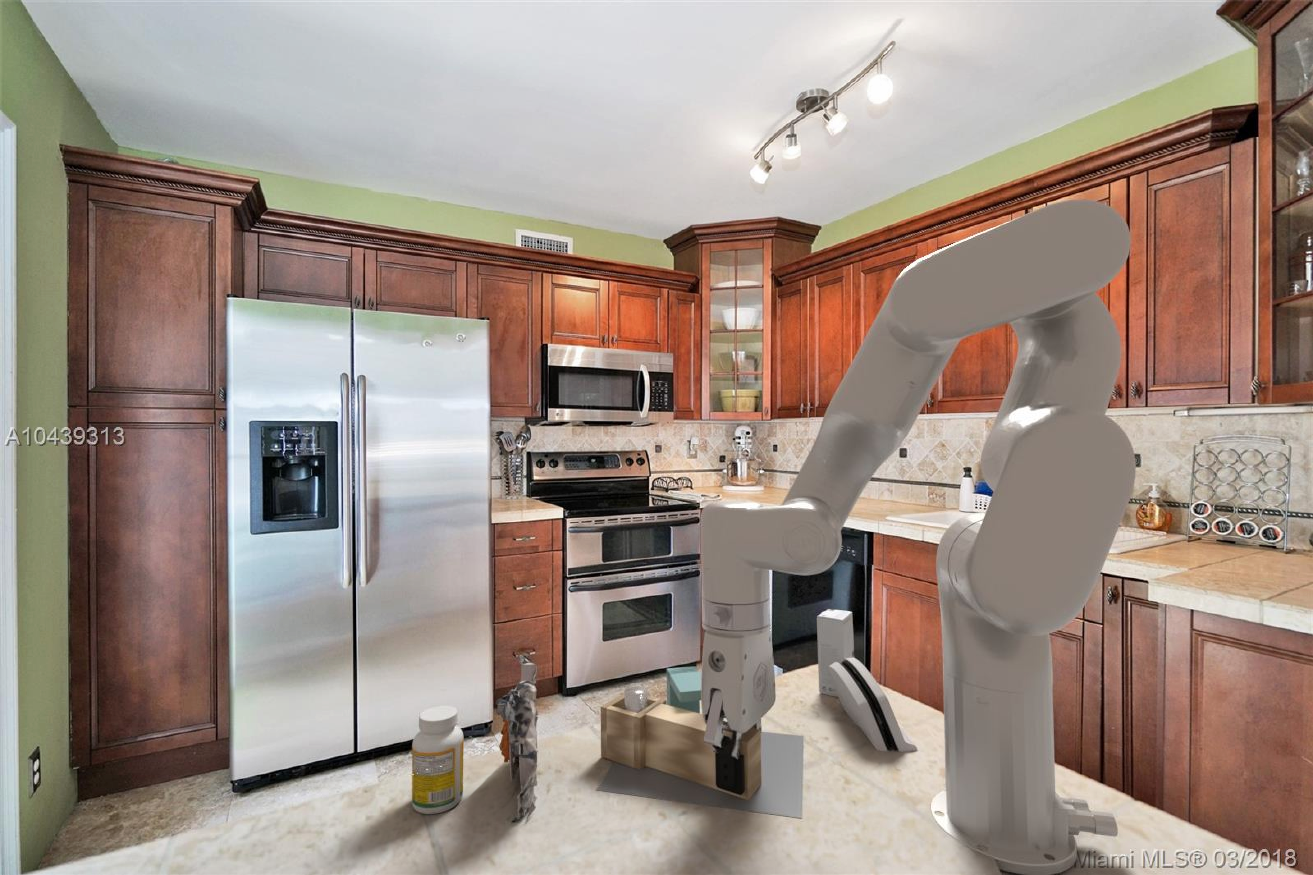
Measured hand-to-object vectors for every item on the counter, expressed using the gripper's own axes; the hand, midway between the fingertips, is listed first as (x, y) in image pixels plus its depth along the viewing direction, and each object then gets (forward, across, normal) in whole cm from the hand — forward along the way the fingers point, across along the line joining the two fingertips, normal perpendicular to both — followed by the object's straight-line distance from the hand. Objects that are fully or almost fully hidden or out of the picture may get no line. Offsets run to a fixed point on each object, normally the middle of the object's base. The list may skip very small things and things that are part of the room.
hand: (738, 779), depth 66 cm
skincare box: (+2, +36, 0) cm, 36 cm away
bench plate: (+2, +3, +6) cm, 7 cm away
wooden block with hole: (+1, 0, +8) cm, 8 cm away
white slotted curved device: (+3, +24, -8) cm, 25 cm away
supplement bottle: (+2, -18, +28) cm, 33 cm away
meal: (+2, -12, +22) cm, 25 cm away
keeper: (+1, +6, +10) cm, 12 cm away
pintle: (+1, 0, +14) cm, 14 cm away
